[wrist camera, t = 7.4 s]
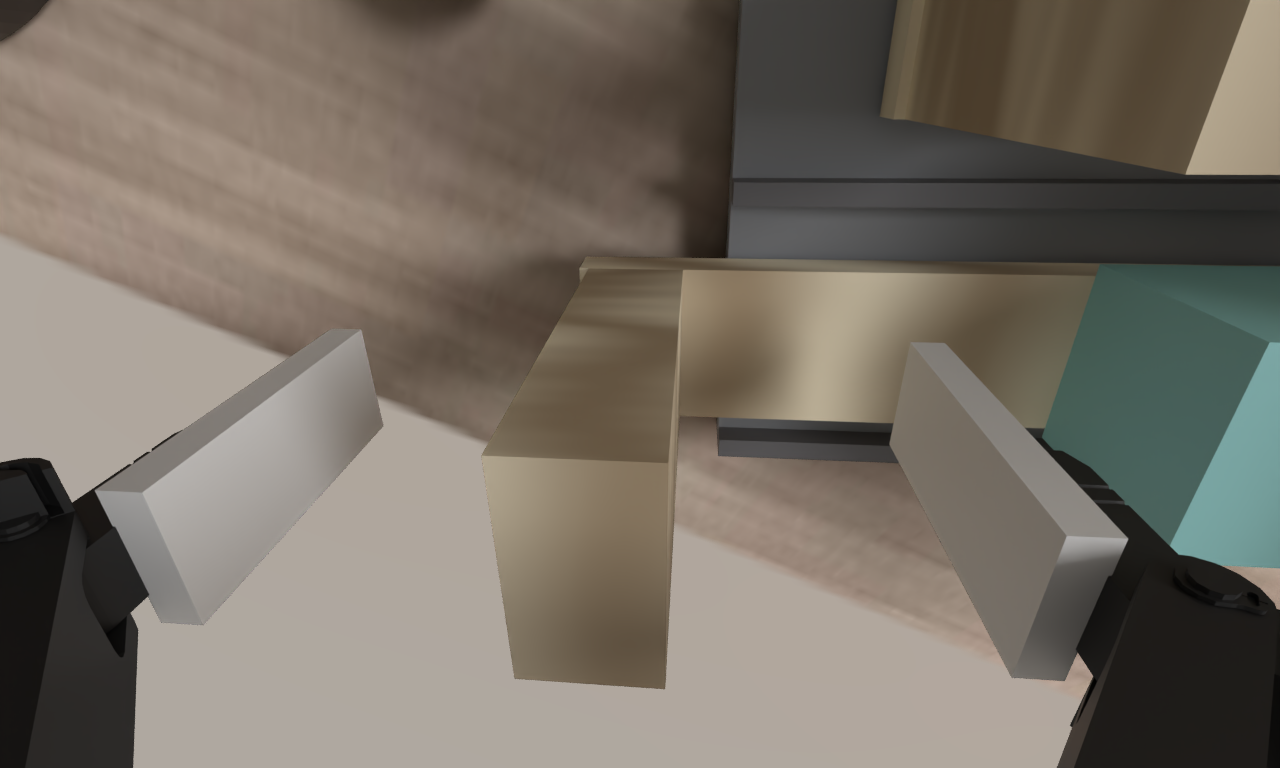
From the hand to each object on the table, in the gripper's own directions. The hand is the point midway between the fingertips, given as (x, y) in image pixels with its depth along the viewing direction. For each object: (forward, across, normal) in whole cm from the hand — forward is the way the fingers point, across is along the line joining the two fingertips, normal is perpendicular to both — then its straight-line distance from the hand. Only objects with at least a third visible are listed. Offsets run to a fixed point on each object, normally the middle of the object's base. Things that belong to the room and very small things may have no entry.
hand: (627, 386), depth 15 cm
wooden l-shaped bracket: (+4, +8, 0) cm, 9 cm away
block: (+2, +14, 0) cm, 14 cm away
